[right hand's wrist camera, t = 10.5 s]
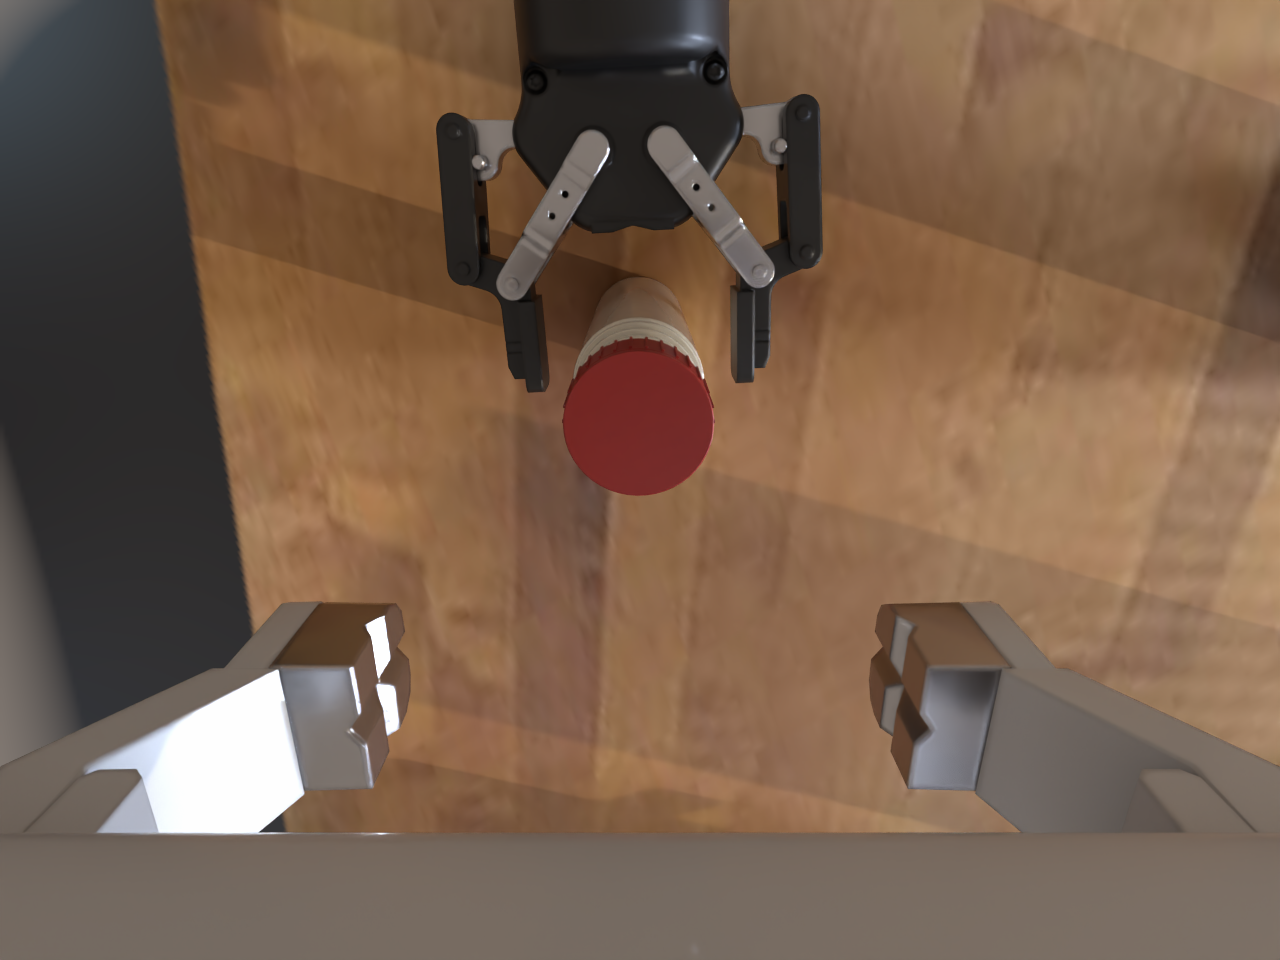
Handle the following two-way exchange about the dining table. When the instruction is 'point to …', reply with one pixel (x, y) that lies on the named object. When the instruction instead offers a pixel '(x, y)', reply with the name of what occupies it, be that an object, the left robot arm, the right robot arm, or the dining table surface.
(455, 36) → the dining table surface
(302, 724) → the right robot arm
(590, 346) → the bottle
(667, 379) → the cap
